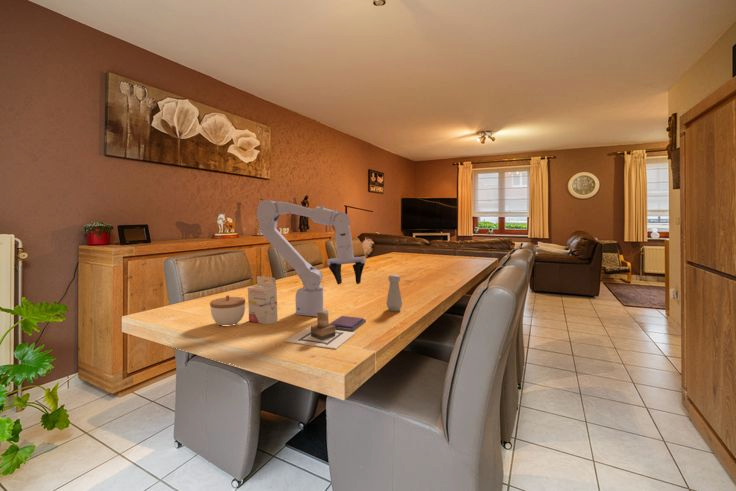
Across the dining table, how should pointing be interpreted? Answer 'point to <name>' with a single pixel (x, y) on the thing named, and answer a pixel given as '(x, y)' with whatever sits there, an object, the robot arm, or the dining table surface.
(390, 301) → the salt shaker
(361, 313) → the dining table surface
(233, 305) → the lidded jar
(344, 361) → the dining table surface
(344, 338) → the marked sheet
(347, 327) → the ink pad
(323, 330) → the stamp
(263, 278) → the ink cartridge box
